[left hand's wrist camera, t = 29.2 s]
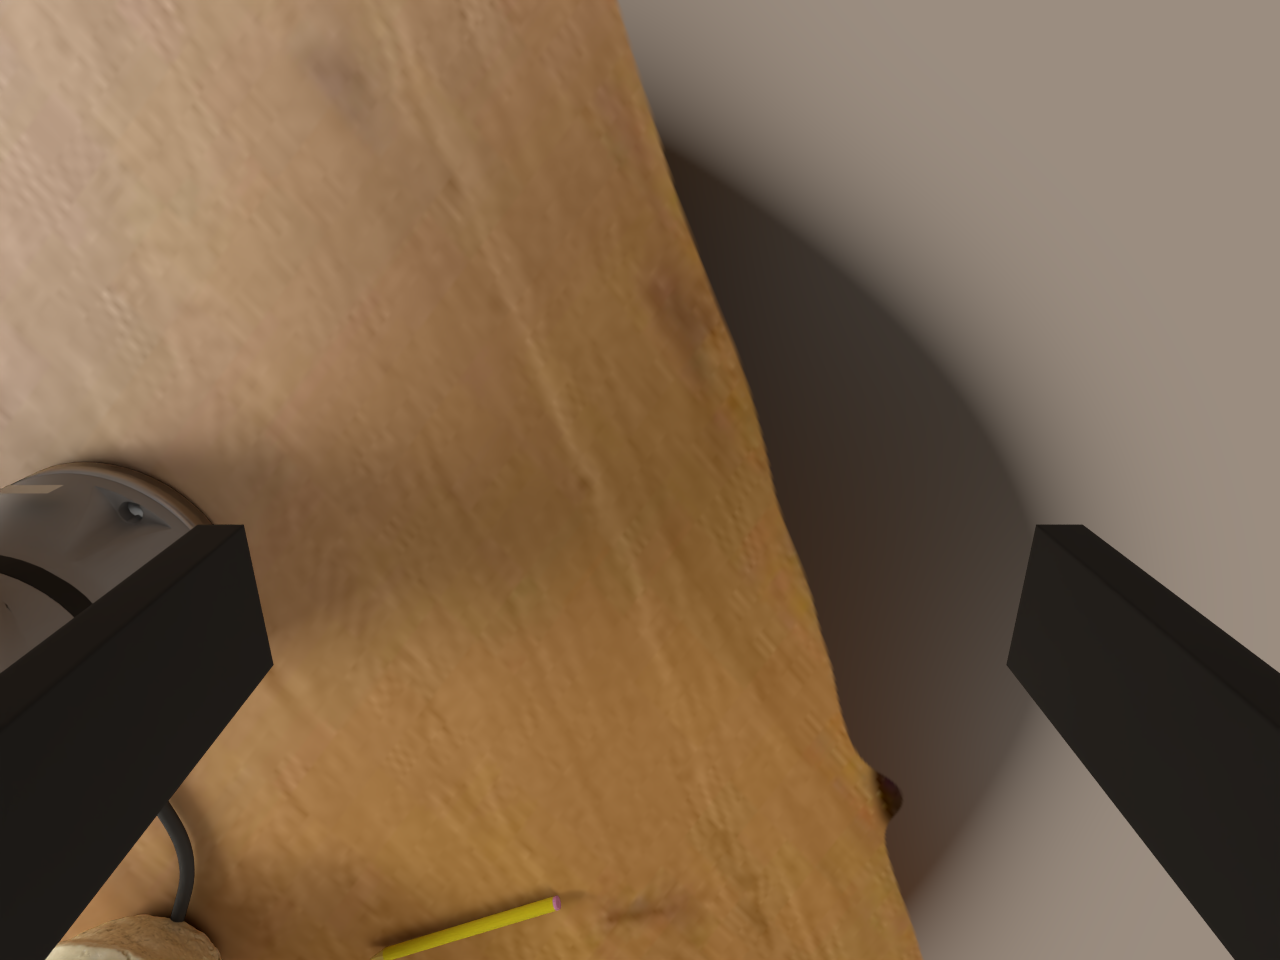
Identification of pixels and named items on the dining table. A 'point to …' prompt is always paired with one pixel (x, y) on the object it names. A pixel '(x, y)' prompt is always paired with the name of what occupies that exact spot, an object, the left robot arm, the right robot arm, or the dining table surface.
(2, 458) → the dining table surface
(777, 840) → the dining table surface
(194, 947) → the bowl
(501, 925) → the pencil
